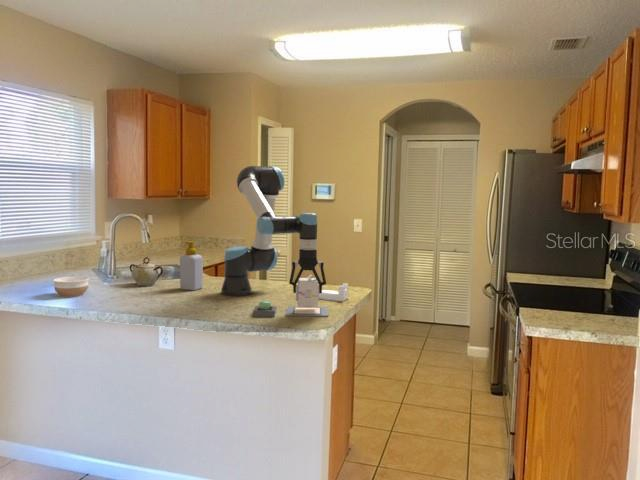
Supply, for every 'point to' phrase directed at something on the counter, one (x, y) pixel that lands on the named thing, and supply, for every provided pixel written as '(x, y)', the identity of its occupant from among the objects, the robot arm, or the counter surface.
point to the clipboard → (307, 311)
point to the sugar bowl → (146, 273)
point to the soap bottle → (191, 269)
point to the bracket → (335, 294)
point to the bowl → (71, 286)
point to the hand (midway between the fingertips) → (307, 300)
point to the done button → (264, 305)
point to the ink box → (308, 292)
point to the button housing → (264, 312)
